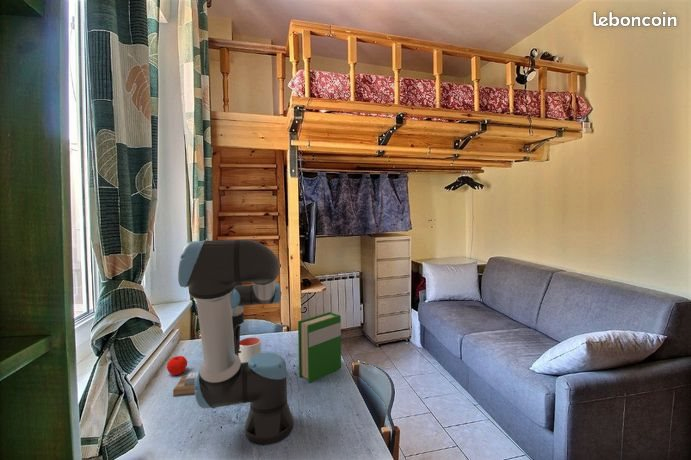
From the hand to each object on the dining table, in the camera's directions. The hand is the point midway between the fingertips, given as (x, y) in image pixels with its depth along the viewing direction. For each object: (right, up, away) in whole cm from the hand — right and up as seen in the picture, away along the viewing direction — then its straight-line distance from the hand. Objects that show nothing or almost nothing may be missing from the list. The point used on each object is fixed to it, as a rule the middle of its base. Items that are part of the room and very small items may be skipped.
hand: (235, 370), depth 128 cm
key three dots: (-16, -5, -2) cm, 17 cm away
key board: (-8, -6, -1) cm, 10 cm away
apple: (-29, -6, +9) cm, 31 cm away
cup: (0, -5, +19) cm, 19 cm away
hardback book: (+34, -5, +9) cm, 36 cm away
